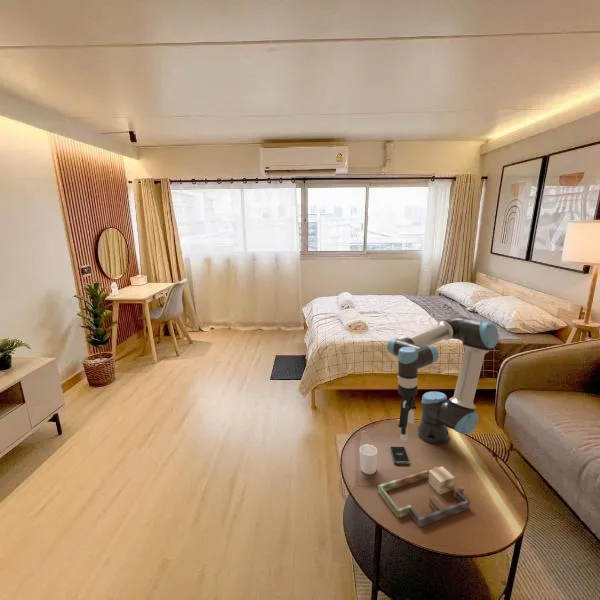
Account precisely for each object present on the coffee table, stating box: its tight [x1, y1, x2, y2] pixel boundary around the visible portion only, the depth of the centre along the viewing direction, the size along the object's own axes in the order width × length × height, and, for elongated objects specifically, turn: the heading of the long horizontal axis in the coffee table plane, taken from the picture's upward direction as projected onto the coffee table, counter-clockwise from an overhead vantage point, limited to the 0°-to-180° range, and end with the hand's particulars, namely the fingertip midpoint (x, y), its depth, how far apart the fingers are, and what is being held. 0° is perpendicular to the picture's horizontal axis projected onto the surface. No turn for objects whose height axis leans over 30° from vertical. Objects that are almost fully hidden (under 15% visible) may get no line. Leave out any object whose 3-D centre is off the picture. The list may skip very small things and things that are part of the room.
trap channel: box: [377, 465, 471, 528], centre depth 131 cm, size 31×20×3 cm, turn 108°
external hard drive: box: [389, 445, 410, 466], centre depth 156 cm, size 7×11×2 cm, turn 175°
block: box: [428, 466, 456, 495], centre depth 136 cm, size 7×7×6 cm
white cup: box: [359, 444, 378, 475], centre depth 148 cm, size 8×8×10 cm
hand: (407, 431), depth 138 cm, fingers open, 13 cm apart
